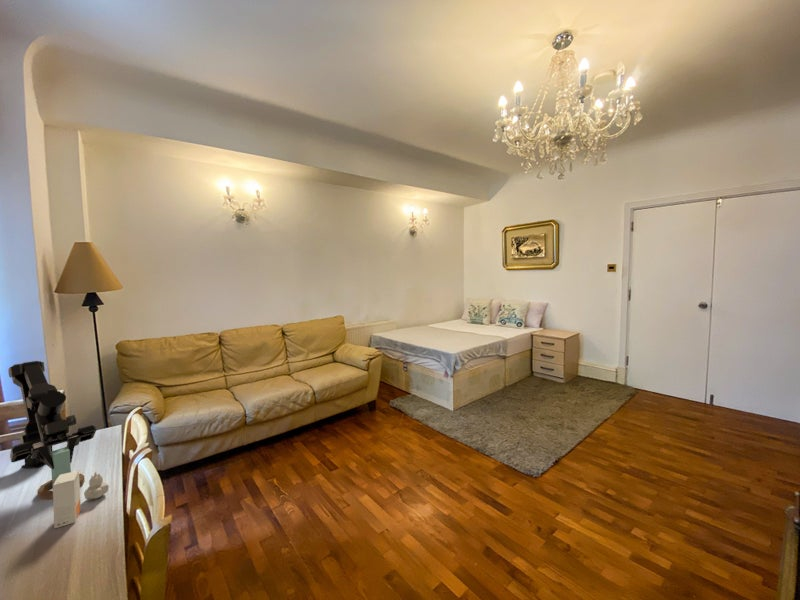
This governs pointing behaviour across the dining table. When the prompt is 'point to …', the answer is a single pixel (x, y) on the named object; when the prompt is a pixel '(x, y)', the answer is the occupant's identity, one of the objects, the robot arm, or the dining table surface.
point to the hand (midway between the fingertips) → (62, 465)
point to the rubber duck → (96, 487)
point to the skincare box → (66, 499)
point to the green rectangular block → (60, 462)
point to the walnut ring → (49, 494)
